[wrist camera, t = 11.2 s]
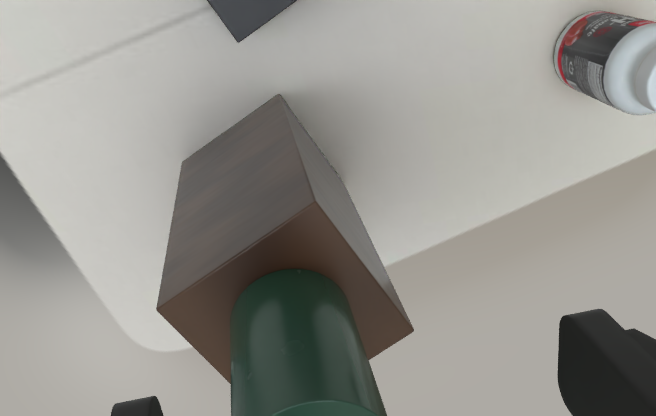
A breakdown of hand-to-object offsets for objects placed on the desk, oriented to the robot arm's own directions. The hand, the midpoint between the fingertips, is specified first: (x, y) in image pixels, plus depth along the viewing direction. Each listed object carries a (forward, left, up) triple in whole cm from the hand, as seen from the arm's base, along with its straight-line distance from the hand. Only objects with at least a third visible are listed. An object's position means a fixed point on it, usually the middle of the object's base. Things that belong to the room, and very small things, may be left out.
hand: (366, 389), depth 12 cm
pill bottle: (+19, -12, -31) cm, 38 cm away
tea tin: (-4, -6, -13) cm, 15 cm away
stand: (-4, -6, -31) cm, 32 cm away
